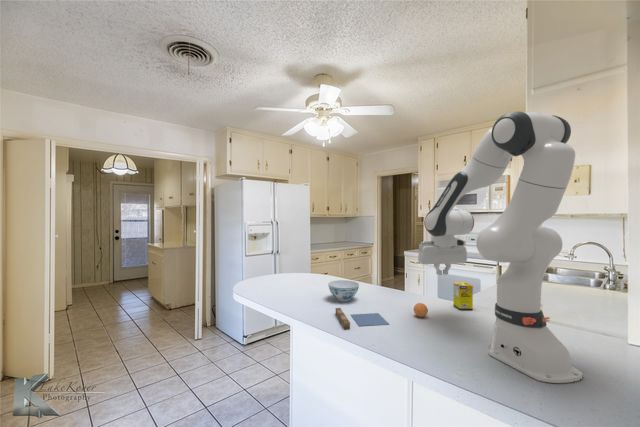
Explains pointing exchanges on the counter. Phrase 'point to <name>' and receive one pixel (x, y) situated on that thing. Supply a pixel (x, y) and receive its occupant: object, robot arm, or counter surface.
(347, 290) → the chinaware
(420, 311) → the ball
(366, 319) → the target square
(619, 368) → the counter surface
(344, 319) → the bar
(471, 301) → the supplement box
